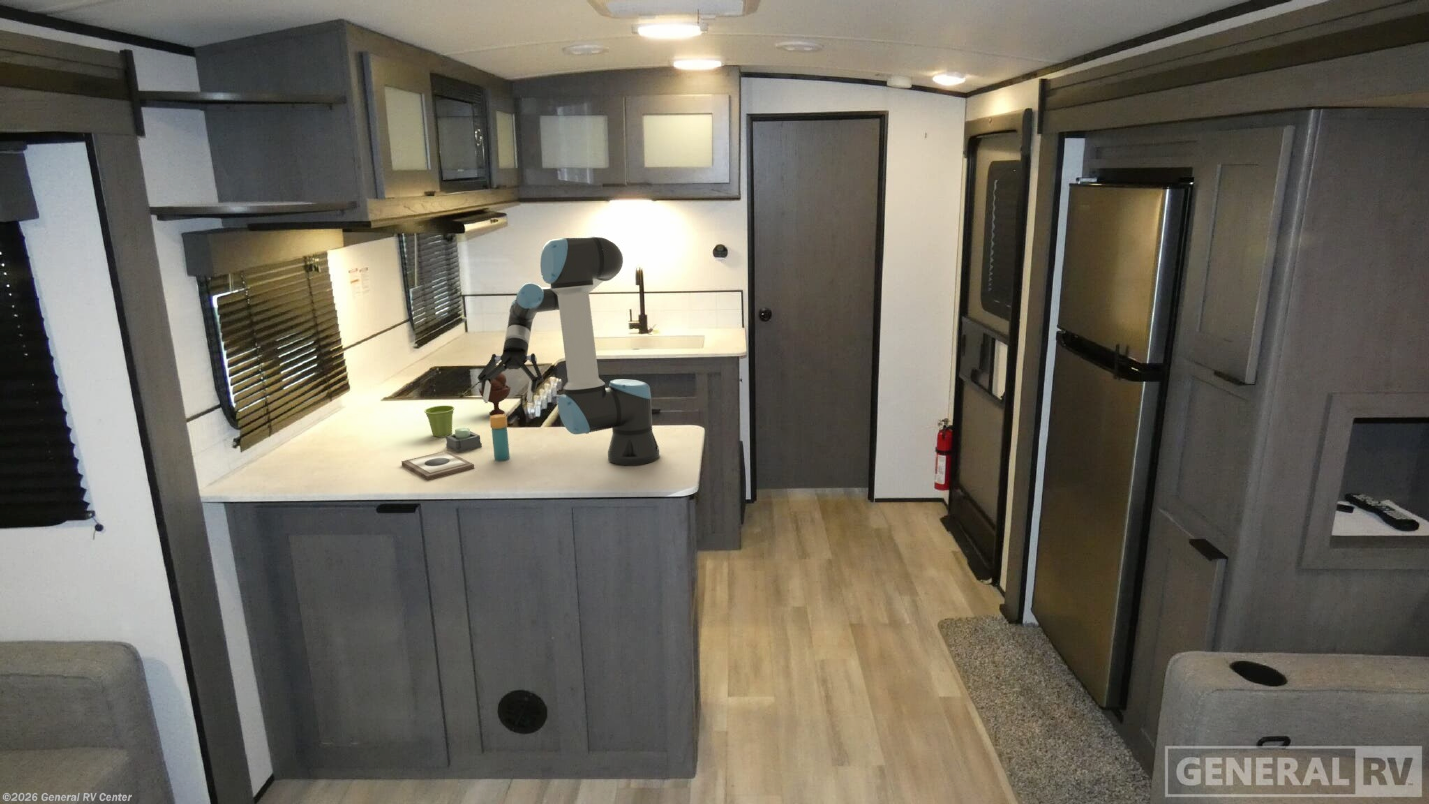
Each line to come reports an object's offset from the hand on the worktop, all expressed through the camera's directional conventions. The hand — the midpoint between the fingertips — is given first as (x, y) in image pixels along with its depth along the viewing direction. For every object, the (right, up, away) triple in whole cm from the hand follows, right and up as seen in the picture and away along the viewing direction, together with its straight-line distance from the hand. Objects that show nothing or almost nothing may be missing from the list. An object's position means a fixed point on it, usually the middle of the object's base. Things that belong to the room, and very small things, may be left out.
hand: (506, 401), depth 260 cm
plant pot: (-26, -11, +20) cm, 35 cm away
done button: (-15, -12, +5) cm, 20 cm away
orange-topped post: (0, -17, -6) cm, 18 cm away
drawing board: (-17, -19, -12) cm, 28 cm away
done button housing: (-15, -14, +6) cm, 21 cm away
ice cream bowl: (-14, -5, +43) cm, 45 cm away
